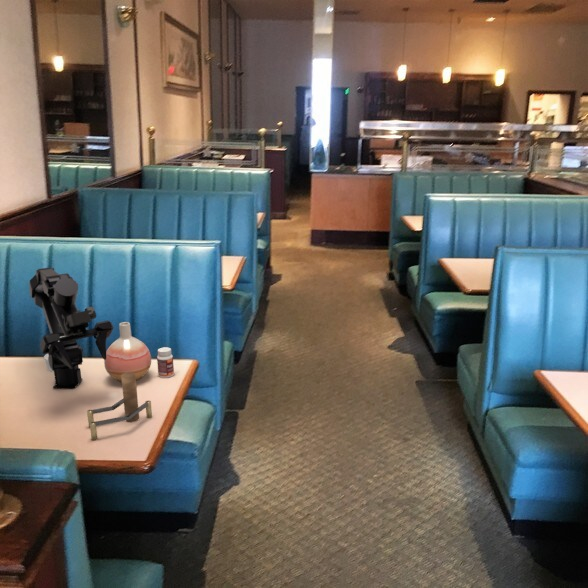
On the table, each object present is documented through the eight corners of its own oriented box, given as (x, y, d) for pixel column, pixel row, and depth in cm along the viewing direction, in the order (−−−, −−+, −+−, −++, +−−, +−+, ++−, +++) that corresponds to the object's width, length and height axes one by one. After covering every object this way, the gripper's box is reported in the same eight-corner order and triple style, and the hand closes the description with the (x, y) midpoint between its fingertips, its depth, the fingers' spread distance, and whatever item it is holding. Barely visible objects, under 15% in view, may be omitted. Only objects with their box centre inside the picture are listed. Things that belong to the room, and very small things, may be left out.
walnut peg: (125, 422, 162) (120, 378, 158) (125, 416, 165) (121, 372, 162) (138, 421, 163) (135, 377, 159) (139, 415, 166) (135, 371, 162)
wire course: (78, 440, 154) (76, 423, 152) (101, 410, 169) (99, 395, 167) (137, 441, 153) (135, 425, 151) (155, 411, 168) (153, 396, 166)
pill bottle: (170, 378, 188) (168, 352, 186) (155, 377, 189) (153, 351, 187) (176, 372, 193) (174, 347, 191) (162, 371, 194) (160, 346, 191)
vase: (158, 370, 195) (154, 316, 190) (144, 388, 182) (139, 331, 177) (115, 369, 196) (110, 315, 191) (99, 387, 183) (92, 330, 178)
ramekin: (61, 374, 193) (59, 361, 191) (39, 370, 196) (37, 357, 195) (81, 364, 200) (79, 351, 199) (59, 360, 204) (58, 348, 203)
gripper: (38, 306, 158) (60, 358, 154) (107, 292, 170) (129, 340, 165) (31, 327, 166) (51, 378, 161) (97, 313, 178) (118, 359, 173)
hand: (89, 363), depth 165 cm, fingers open, 9 cm apart
